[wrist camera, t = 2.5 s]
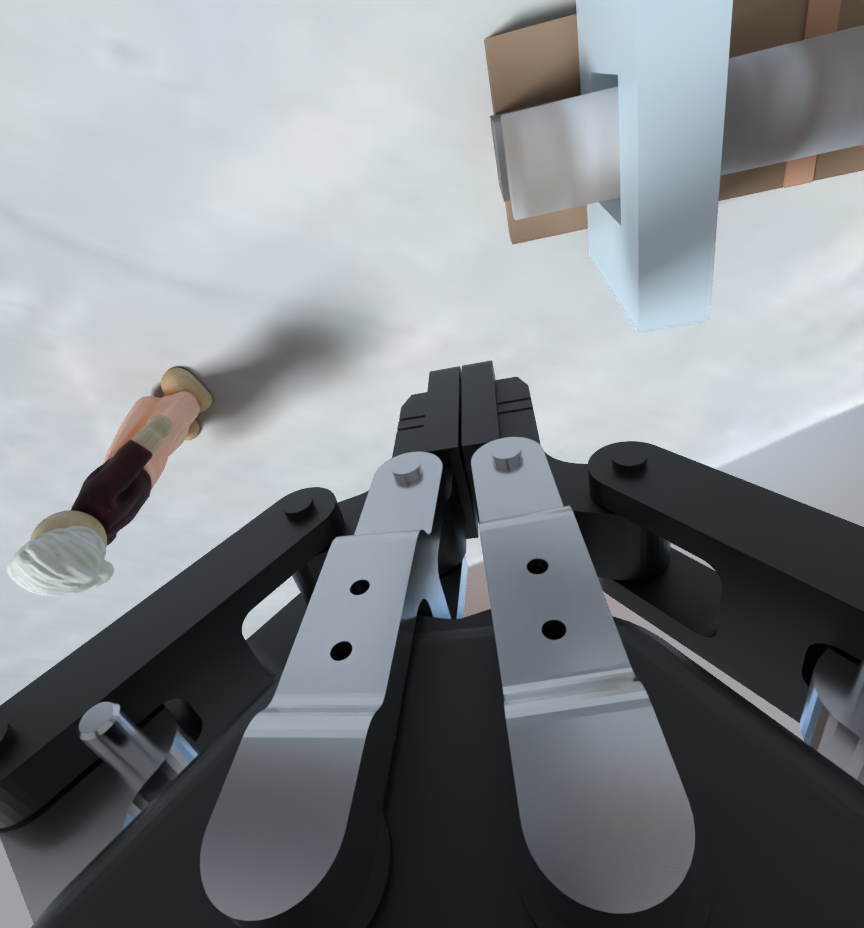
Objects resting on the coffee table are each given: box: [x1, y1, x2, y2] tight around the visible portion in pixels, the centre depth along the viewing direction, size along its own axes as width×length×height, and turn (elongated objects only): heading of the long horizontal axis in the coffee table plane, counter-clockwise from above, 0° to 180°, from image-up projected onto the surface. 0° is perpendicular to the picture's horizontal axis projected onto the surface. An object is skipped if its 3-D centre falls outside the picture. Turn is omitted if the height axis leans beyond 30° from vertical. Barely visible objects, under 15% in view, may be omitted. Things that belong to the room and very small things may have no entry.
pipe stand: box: [484, 0, 864, 244], centre depth 18 cm, size 7×16×8 cm, turn 102°
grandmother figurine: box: [7, 368, 213, 596], centre depth 25 cm, size 8×4×13 cm, turn 156°
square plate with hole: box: [576, 0, 733, 333], centre depth 17 cm, size 9×2×8 cm, turn 12°
